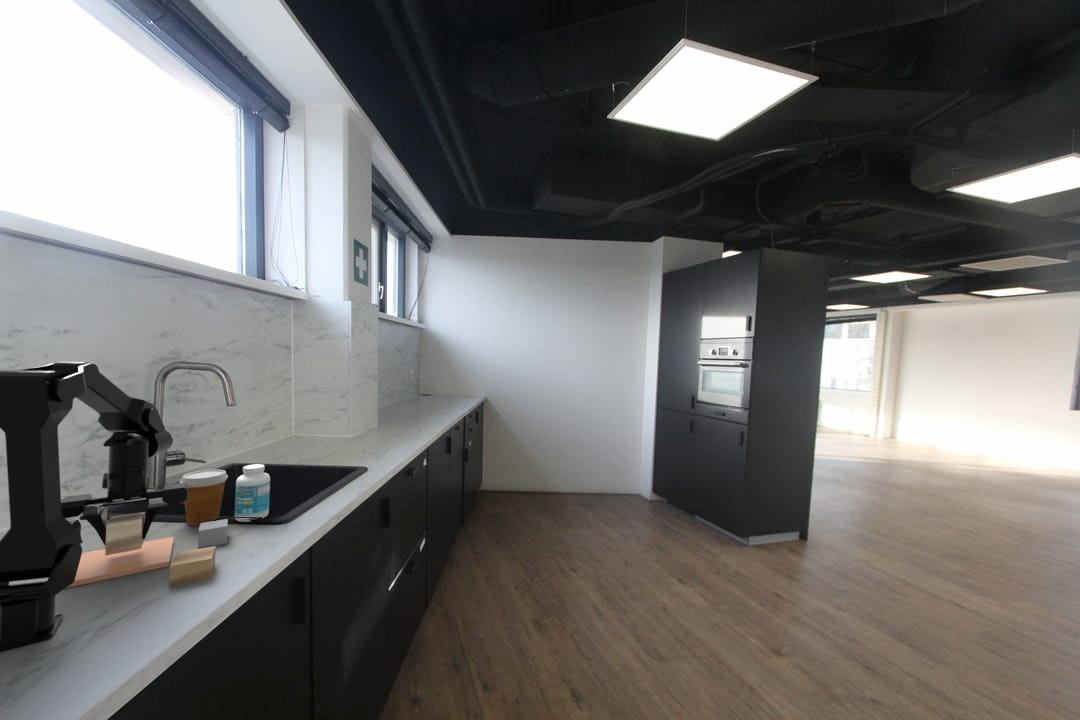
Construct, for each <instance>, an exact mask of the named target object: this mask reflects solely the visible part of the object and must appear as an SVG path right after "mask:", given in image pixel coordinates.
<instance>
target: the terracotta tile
mask: <svg viewBox="0 0 1080 720" xmlns="http://www.w3.org/2000/svg"><path fill="white" fill-rule="evenodd" d="M174 541H175V537H174V536H169V537H165V538H159V539H153V540H149V541H148V540H147V541H144V542H143V545H142V547H141V549H138V550H132V551H127V552H122V553H116V554H111V555H106V556H105V549H106V548H104V549H103V548H102V549H98V550H93V551H87V552H86V551H85V552H82V555H81V559H80V562H79V566H78V570H77V574H76V577H75V581H74V583H72V584H71V585H69V586H68V587H67V588H66V589H68V588H72V587H76V586H81V585H86V584H91V583H95V582H101V581H104V580H109V579H115V578H119V577H125V576H128V575H133V574H134V575H135V574H138V573H144V572H147V571H153V570H156V569H161V568H162V569H163V568H166V567H170V566H169V565H170V562H171V557H172V553H173V552H172V551H173V547H174Z"/></svg>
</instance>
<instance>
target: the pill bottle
mask: <svg viewBox="0 0 1080 720" xmlns="http://www.w3.org/2000/svg"><path fill="white" fill-rule="evenodd" d="M265 466H266V465H264V464H261V463H253V464H248V465H245V466H242V472H243V474H241V475H240V476H238V477H237V479H236V481H235V498H234V520H236V521H237V522H240V523H248V522H249V523H250V522H251V521H250V520H248V519H250V518H235V517H262V519H264V518H266V517H267V516H268V515H269V510H270V494H271V493H270V491H271V477H270V474H269V473H267V472H264V471H265V470H266V469H265V468H266V467H265ZM246 519H247V520H246Z"/></svg>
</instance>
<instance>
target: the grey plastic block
mask: <svg viewBox="0 0 1080 720" xmlns="http://www.w3.org/2000/svg"><path fill="white" fill-rule="evenodd" d="M228 523H229V519H228V518H225V519H218V520H216V521H211V522H205V523H200V525H199V527H198V536H197V538H198V539H197V549H202V548H208V547H213V546H219V545H224V544H227V542H228Z"/></svg>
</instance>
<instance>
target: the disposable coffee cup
mask: <svg viewBox="0 0 1080 720" xmlns="http://www.w3.org/2000/svg"><path fill="white" fill-rule="evenodd" d="M181 477H182V478H181V480H180V481H179V483H187V484H188V497H187V500H186V501H184V502H183V503H184V510H185V517H186V524H187V525H188V526H200V523H205V522H211V521H214V519H218V518H200V517H219V518H220V511H221V508H222V502H223V496H224V491H225V486H226V481H227V479H228V477H229V475H227V471H226V470H223V469H204V470H197V471H192V472H189V473H185V474H184V475H182V476H181ZM218 520H219V519H218Z"/></svg>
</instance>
